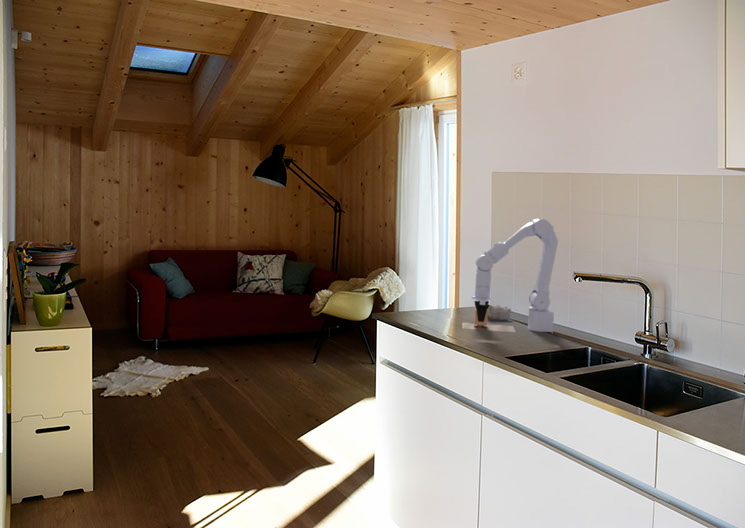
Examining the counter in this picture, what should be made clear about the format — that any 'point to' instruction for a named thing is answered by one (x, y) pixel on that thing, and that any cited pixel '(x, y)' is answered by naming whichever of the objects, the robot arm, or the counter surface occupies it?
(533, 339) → the counter surface
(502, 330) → the board
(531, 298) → the robot arm
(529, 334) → the counter surface
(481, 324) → the light orange block
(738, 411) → the counter surface
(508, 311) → the stone
